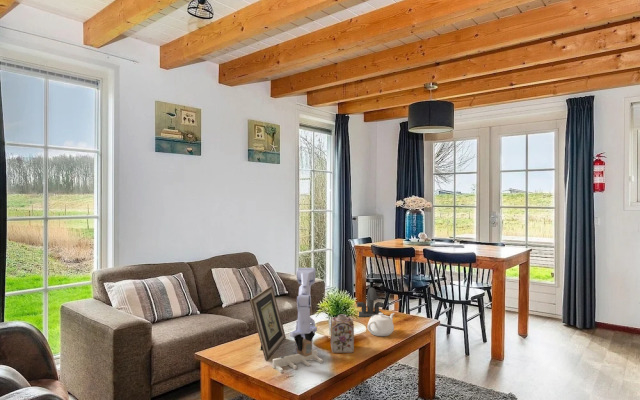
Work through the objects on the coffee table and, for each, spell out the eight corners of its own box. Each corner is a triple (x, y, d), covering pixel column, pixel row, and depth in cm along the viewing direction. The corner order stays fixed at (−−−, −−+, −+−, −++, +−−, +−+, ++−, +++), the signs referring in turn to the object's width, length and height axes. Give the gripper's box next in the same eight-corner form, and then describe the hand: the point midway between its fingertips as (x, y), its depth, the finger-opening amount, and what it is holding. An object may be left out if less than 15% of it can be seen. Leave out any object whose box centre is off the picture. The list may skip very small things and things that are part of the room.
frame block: (297, 353, 201) (297, 340, 201) (303, 350, 204) (303, 338, 204) (305, 356, 197) (305, 344, 196) (311, 354, 199) (311, 341, 199)
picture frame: (267, 360, 210) (267, 300, 210) (248, 359, 212) (248, 299, 212) (286, 338, 242) (286, 286, 242) (269, 337, 244) (269, 285, 244)
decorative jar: (351, 345, 232) (352, 312, 232) (354, 353, 221) (354, 318, 221) (330, 345, 232) (330, 312, 232) (331, 353, 220) (331, 318, 220)
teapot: (378, 341, 238) (379, 319, 238) (357, 334, 250) (358, 313, 249) (404, 331, 256) (404, 311, 256) (383, 325, 267) (384, 306, 267)
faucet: (360, 320, 278) (360, 290, 277) (356, 313, 293) (356, 285, 293) (387, 320, 279) (387, 289, 279) (381, 313, 295) (382, 284, 295)
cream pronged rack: (272, 367, 202) (272, 357, 202) (315, 357, 214) (315, 348, 214) (279, 373, 195) (279, 363, 195) (323, 362, 208) (323, 353, 208)
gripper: (296, 325, 192) (296, 355, 193) (321, 319, 202) (321, 348, 202) (287, 321, 198) (287, 350, 198) (311, 316, 207) (311, 344, 207)
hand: (303, 349), depth 200 cm, fingers closed on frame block, 4 cm apart
